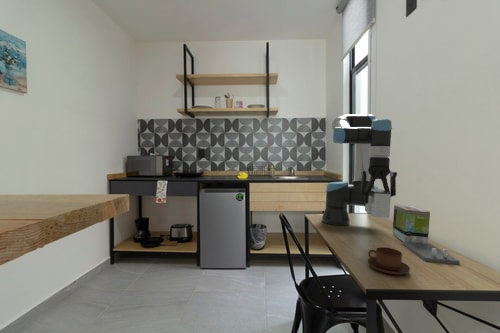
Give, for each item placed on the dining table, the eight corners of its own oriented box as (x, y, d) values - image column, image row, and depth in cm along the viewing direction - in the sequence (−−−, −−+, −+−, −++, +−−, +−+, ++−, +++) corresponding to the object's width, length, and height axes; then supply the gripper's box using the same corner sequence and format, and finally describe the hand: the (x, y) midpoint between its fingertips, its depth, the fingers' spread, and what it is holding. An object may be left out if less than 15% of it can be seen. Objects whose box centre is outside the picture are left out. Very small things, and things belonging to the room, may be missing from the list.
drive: (364, 210, 115) (366, 188, 114) (379, 211, 114) (380, 189, 113) (373, 216, 103) (374, 191, 103) (389, 217, 102) (390, 192, 102)
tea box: (429, 245, 111) (430, 211, 110) (403, 243, 113) (405, 209, 112) (414, 235, 125) (415, 205, 125) (391, 233, 127) (393, 204, 127)
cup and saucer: (369, 273, 80) (370, 254, 80) (366, 260, 91) (367, 243, 91) (413, 281, 76) (415, 260, 76) (405, 266, 87) (405, 248, 87)
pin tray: (402, 244, 111) (403, 234, 111) (430, 246, 109) (431, 236, 109) (425, 261, 92) (425, 249, 92) (459, 264, 90) (460, 252, 90)
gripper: (357, 156, 105) (354, 212, 106) (408, 157, 102) (404, 215, 103) (353, 156, 113) (350, 208, 114) (400, 157, 110) (397, 211, 111)
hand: (376, 211), depth 108 cm, fingers closed on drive, 6 cm apart
